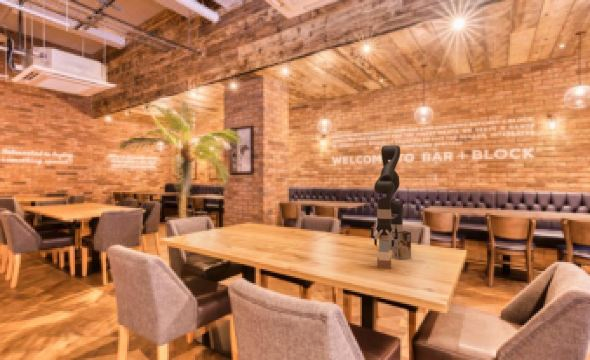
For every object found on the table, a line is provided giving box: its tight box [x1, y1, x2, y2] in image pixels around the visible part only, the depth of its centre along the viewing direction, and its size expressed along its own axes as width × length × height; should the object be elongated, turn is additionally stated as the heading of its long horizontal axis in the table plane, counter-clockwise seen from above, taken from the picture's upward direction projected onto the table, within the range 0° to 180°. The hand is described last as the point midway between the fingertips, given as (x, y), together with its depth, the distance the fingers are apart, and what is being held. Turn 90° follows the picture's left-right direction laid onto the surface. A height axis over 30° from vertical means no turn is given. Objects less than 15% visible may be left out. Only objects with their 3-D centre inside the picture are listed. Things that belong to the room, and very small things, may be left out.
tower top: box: [377, 248, 391, 261], centre depth 163 cm, size 6×6×4 cm
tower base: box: [376, 256, 392, 270], centre depth 163 cm, size 7×7×4 cm
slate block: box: [378, 238, 390, 252], centre depth 163 cm, size 5×5×6 cm
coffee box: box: [391, 230, 412, 261], centre depth 180 cm, size 9×6×16 cm
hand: (384, 246), depth 163 cm, fingers open, 8 cm apart
